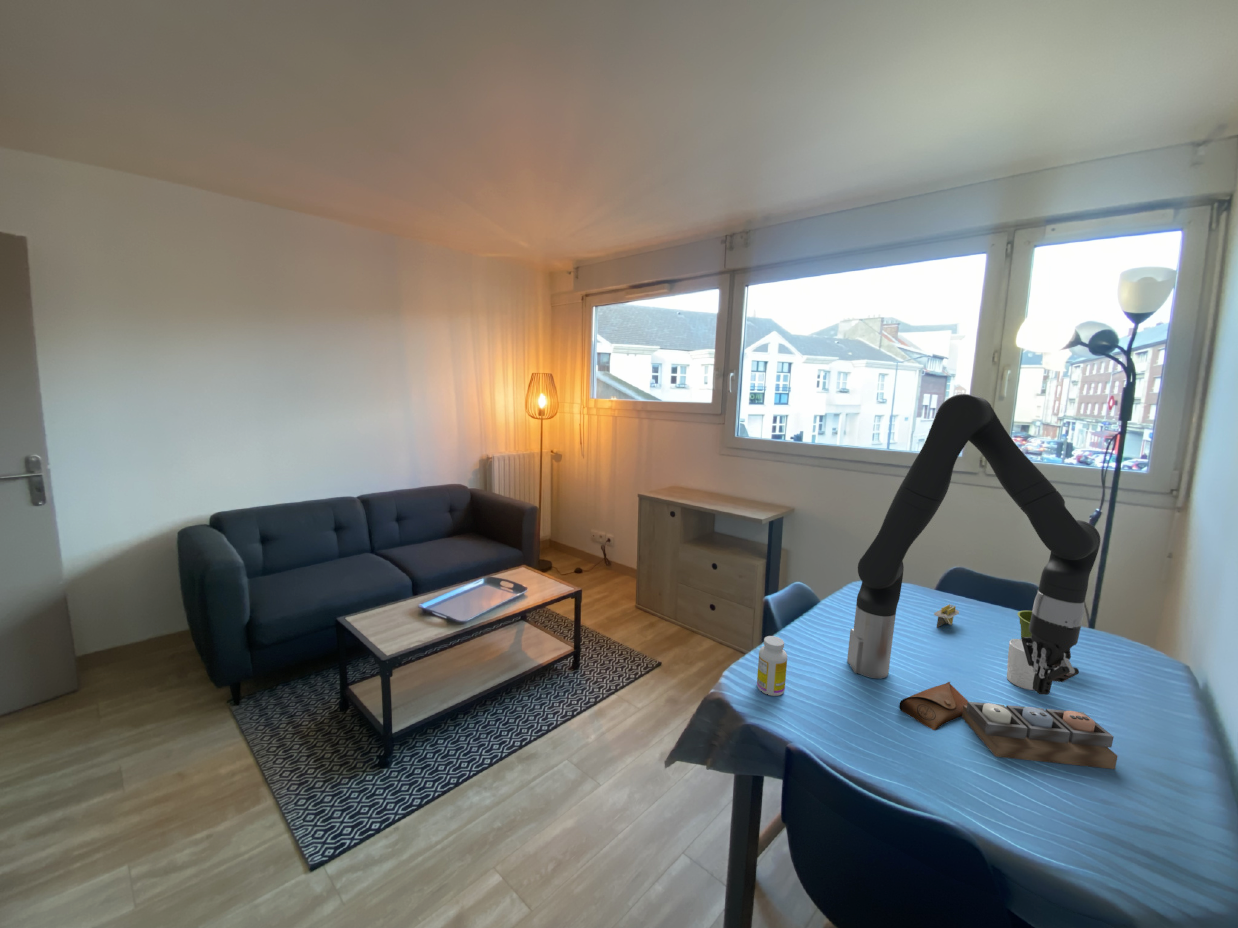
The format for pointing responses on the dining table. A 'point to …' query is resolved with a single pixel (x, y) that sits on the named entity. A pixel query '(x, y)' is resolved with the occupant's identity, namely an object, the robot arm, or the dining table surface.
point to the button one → (996, 713)
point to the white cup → (1019, 666)
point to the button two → (1037, 717)
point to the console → (1041, 738)
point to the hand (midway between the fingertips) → (1040, 692)
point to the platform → (946, 615)
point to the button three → (1079, 721)
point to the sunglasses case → (934, 705)
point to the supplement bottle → (772, 666)
